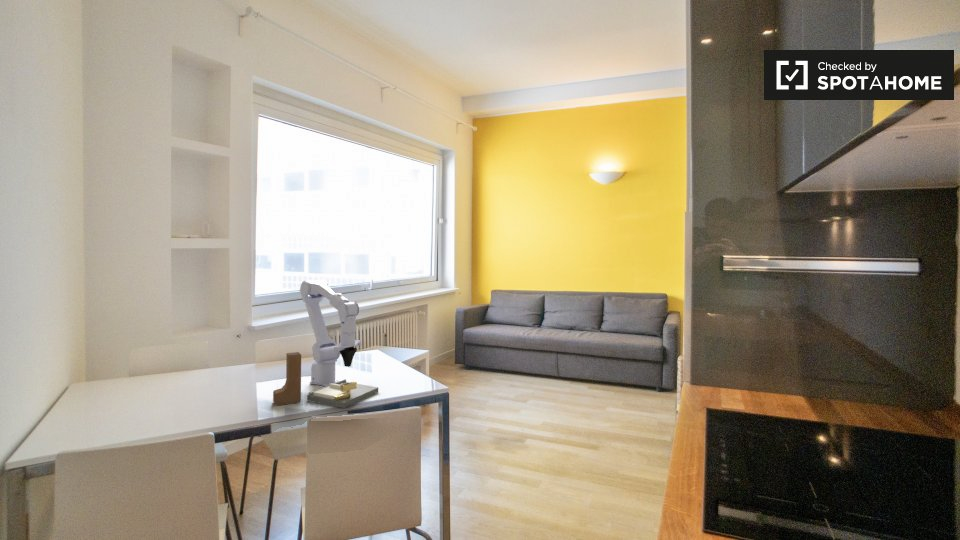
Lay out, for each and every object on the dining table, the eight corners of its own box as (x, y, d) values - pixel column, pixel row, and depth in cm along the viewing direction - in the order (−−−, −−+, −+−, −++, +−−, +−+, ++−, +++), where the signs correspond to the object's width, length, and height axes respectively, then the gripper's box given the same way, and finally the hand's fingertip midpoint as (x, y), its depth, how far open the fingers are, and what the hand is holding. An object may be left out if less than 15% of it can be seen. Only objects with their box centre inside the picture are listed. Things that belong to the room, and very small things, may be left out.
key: (336, 400, 182) (336, 386, 182) (334, 399, 183) (334, 386, 182) (356, 395, 188) (356, 382, 188) (354, 394, 189) (354, 381, 189)
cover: (313, 395, 187) (313, 388, 187) (329, 389, 195) (329, 382, 195) (334, 399, 183) (334, 392, 183) (350, 392, 191) (350, 386, 191)
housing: (307, 400, 187) (307, 392, 187) (343, 386, 206) (343, 379, 206) (344, 408, 180) (344, 399, 180) (378, 392, 200) (378, 384, 200)
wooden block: (274, 406, 180) (275, 356, 179) (273, 402, 184) (273, 353, 183) (301, 402, 185) (301, 354, 184) (298, 399, 189) (299, 351, 188)
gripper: (344, 336, 191) (344, 371, 192) (367, 330, 204) (366, 363, 205) (329, 334, 194) (329, 369, 195) (353, 328, 207) (352, 361, 208)
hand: (347, 366), depth 200 cm, fingers closed
